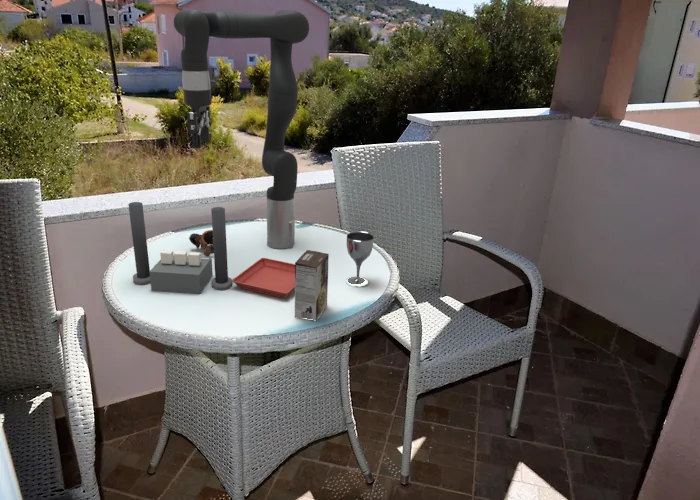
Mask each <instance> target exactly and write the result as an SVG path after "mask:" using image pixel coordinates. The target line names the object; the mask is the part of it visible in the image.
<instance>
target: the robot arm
mask: <svg viewBox="0 0 700 500" xmlns="http://www.w3.org/2000/svg"><path fill="white" fill-rule="evenodd" d="M173 26H174V29H175V30H176V32H177V33H178V34H179V35H180V36H183V37H184V48H182V49H181V52H180V60H181V73H182V75H181V80H182V93H183V102H184V104H185V105H186V106H188V107H190V111H187V112H186V116H187V117H186V118H187V129H188V130H187V131H188V133H187V134H189V135H191V139H192V148H193V149H201V148H202V142H203V143H209V142H210V141H211V139H210V138H211V137H210V129H211V126H212V117H211V107H210V106H211V105H212V103H213V102H212V92H211V91H212V89H211V78H210V73H209V64H208V63H209V61H208V49H209V43H210V38H217V39H229V40H230V39H233V40H234V39H238V40H239V39H260V38H262V39H270V40H269V41H270V65H269V68H270V69H269V85H268V96H267V116H266V117H267V118H266V127H265V131H266V132H265V139H264V143H263V149H262V156H261V165H262V169H263V171H264V172H265V173H266V174H268V175H269V176H271V177H273V184H272V186H270V187H268V188H266V234H267V236H266V244H267V246H268V247H270V248H272V249H277V250H278V249H283V250H285V249H292V248H293V247H294V244H295V243H296V242H295V241H296V240H295V239H296V238H295V237H296V236H295V235H296V225H295V222H296V217H295V192H296V190H297V185H298V160H297V157H296V156H295V154H293V153H291V152H289V151H286V150H285V141H286V140H285V138H286V133H287V130H288V129H289V126H290V125H291V123H292V121H293V120H294V118H295V114H296V112H297V108H298V107H297V106H298V96H299V95H298V94H299V88H298V87H299V86H298V81H297V79H296V74H295V72H294V68H293V64H292V60H293V59H292V54H293V53H292V51H293V44H300V43H302V42H303V41H304V40H306V38H307V37H308V35H309V32H310V23H309V20H308V19H307V17H306V15H304V14H303V13H302V12H301V11H297V10H279V11H276V12H275V13H274V14H263V13H262V14H260V13H252V12H251V13H250V12H249V13H248V12H241V11H230V10H227V11H226V10H221V11H220V10H216V11H206V10H199V9H196V8H195V9H190V8H189V9H187V8H185V9H182V10H179V11H178V12H177V13H176V14H175V15H174V19H173Z"/></svg>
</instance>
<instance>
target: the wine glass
mask: <svg viewBox="0 0 700 500" xmlns="http://www.w3.org/2000/svg"><path fill="white" fill-rule="evenodd" d="M374 239H375V236H374V235H373V234H372V233H370V232H367V231H351V232H349V233H347V235H346V249H347V253H348V255H349V257H350V258H351V259H352V260H353V261H354V263H355V266H356V276H351V278H350V277H348V278H349V279H348V278H347V279H348V282H349V283H351V284H361V283H363V282H364V281H365V280H364V279H363V278H364V277H363V278H360V277H361V276H360V271H361V267H362V264H363V263H364V262H365V261H366V260H367V259H368V258H369V257H370V256H371V254H372V251H373V247H374Z"/></svg>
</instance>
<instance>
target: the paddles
mask: <svg viewBox="0 0 700 500" xmlns="http://www.w3.org/2000/svg"><path fill="white" fill-rule="evenodd" d="M159 255H160V260H161V263H165V264H172V263H175V264H181V265H186V263H187V264H189V265H197V266H199V265H200V264H202V262H201V257H202V253H201V252H197V251H190V252H189V253H188V251H181V250H179V251H178V250H177V251H175V252H174V250H165V249H164V250H163V249H162V251H160V253H159ZM187 256H188V259H187ZM174 258H175V260H174ZM188 260H189V261H188Z"/></svg>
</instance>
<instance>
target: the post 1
mask: <svg viewBox="0 0 700 500" xmlns="http://www.w3.org/2000/svg"><path fill="white" fill-rule="evenodd" d="M128 213H129V221H130V227H131V229H130V230H131V236H132V237H131V238H132V244H133V254H134V261H135V269H136V273H135V274H133V275H132V281H133V284H135V285H138V286H146V285H151V283H150V274H149V271H150V270H151V269H150V260H149V251H148V243H147V242H148V241H147V231H146V224H145V215H144V205H143V202H140V201H133V202H129V203H128Z"/></svg>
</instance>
